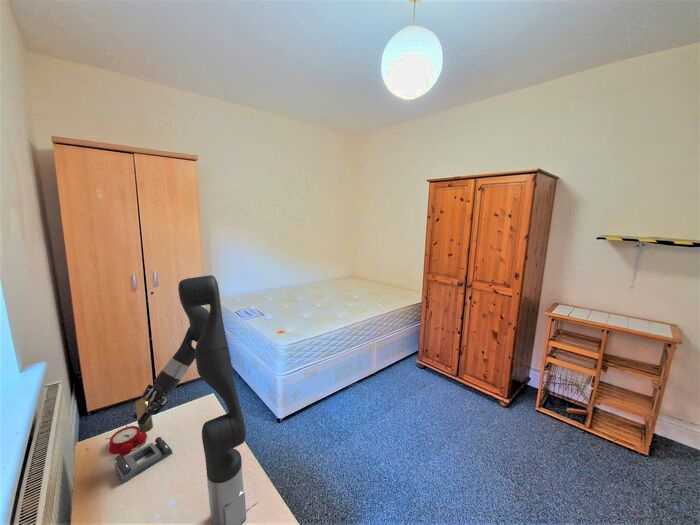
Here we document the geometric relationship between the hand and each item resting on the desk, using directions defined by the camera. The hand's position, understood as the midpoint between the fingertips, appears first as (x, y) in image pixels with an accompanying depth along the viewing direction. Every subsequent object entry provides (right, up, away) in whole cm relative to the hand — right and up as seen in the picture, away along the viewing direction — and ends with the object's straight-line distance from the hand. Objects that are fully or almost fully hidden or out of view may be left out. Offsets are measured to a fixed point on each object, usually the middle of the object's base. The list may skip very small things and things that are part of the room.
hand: (137, 420), depth 98 cm
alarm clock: (-13, -17, +12) cm, 24 cm away
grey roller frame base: (-1, -18, +5) cm, 18 cm away
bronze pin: (+1, -4, +2) cm, 5 cm away
